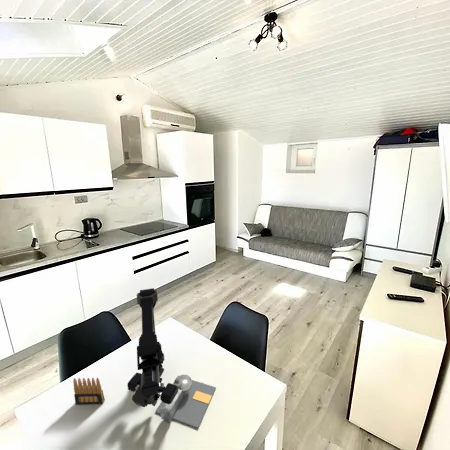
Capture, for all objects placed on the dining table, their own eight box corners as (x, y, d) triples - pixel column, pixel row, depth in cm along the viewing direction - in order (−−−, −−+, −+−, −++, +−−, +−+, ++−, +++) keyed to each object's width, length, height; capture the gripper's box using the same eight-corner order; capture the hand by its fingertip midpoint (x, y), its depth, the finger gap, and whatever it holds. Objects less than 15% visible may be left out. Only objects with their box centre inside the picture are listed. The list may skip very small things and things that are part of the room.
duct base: (155, 412, 93) (154, 406, 92) (178, 376, 108) (177, 371, 108) (198, 428, 87) (197, 422, 86) (215, 388, 103) (215, 382, 102)
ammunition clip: (104, 400, 98) (100, 375, 95) (102, 404, 96) (98, 379, 93) (78, 400, 98) (73, 376, 95) (75, 404, 96) (70, 380, 93)
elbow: (180, 380, 105) (179, 372, 104) (194, 385, 103) (194, 376, 102) (157, 417, 90) (156, 407, 89) (174, 423, 88) (173, 414, 87)
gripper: (114, 382, 85) (119, 417, 89) (160, 398, 79) (163, 435, 83) (135, 358, 95) (139, 390, 99) (177, 371, 89) (180, 405, 93)
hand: (154, 405), depth 93 cm, fingers closed
